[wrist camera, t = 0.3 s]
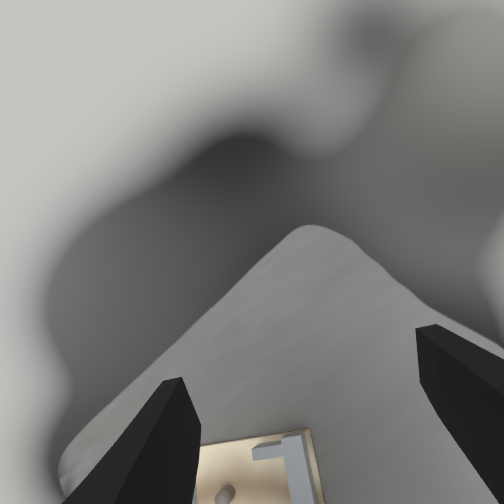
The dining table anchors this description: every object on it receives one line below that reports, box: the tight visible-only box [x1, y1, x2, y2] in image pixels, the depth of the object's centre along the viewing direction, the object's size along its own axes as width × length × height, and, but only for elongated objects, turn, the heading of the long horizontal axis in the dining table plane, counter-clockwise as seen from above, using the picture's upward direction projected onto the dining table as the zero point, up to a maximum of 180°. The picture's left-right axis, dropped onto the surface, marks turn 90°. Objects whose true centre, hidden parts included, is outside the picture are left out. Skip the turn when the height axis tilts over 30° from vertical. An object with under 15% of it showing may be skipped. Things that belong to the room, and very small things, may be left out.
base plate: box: [196, 429, 325, 504], centre depth 33 cm, size 10×13×4 cm
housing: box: [251, 431, 318, 504], centre depth 31 cm, size 9×5×4 cm, turn 10°
